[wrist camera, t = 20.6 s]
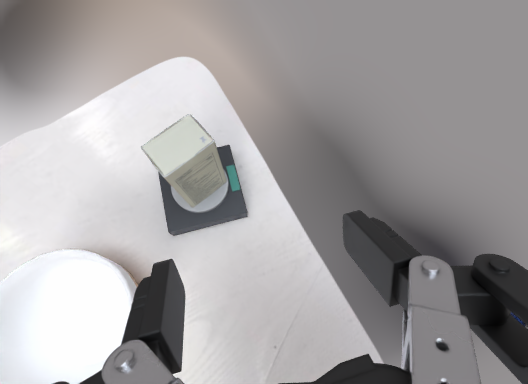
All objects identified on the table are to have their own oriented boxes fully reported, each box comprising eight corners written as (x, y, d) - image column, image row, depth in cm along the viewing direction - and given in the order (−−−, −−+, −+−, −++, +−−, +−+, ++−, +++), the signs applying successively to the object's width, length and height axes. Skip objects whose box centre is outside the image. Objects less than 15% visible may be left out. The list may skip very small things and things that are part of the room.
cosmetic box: (209, 160, 39) (192, 109, 28) (227, 182, 38) (218, 138, 27) (172, 187, 38) (137, 145, 26) (190, 210, 37) (163, 177, 25)
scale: (230, 152, 44) (228, 142, 40) (247, 216, 40) (247, 211, 37) (161, 167, 42) (154, 158, 39) (173, 235, 39) (166, 231, 36)
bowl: (173, 353, 34) (152, 373, 27) (41, 416, 32) (-25, 458, 24) (139, 237, 39) (113, 226, 31) (20, 284, 36) (-41, 284, 28)
